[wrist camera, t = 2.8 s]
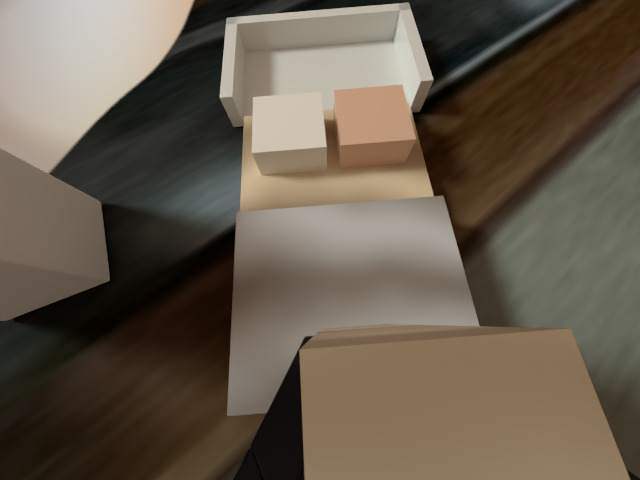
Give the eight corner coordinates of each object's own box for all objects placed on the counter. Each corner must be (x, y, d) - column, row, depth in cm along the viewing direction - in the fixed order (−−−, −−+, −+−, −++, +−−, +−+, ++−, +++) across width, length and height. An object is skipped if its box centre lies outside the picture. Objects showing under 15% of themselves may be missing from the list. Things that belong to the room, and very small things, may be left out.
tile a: (326, 169, 18) (326, 146, 16) (261, 175, 18) (251, 153, 16) (321, 119, 20) (321, 91, 17) (261, 124, 20) (253, 97, 17)
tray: (419, 111, 22) (433, 80, 19) (233, 127, 22) (219, 97, 19) (399, 39, 25) (408, 2, 22) (238, 52, 25) (226, 17, 22)
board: (469, 381, 15) (484, 388, 13) (241, 399, 15) (232, 407, 13) (403, 117, 21) (409, 102, 20) (249, 129, 22) (244, 116, 20)
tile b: (404, 163, 18) (416, 139, 16) (339, 168, 18) (340, 145, 16) (393, 112, 20) (402, 84, 17) (333, 117, 20) (333, 90, 17)
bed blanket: (474, 384, 13) (1364, 762, 2) (241, 402, 13) (-270, 879, 2) (430, 210, 17) (645, -26, 5) (246, 224, 17) (80, 21, 5)
